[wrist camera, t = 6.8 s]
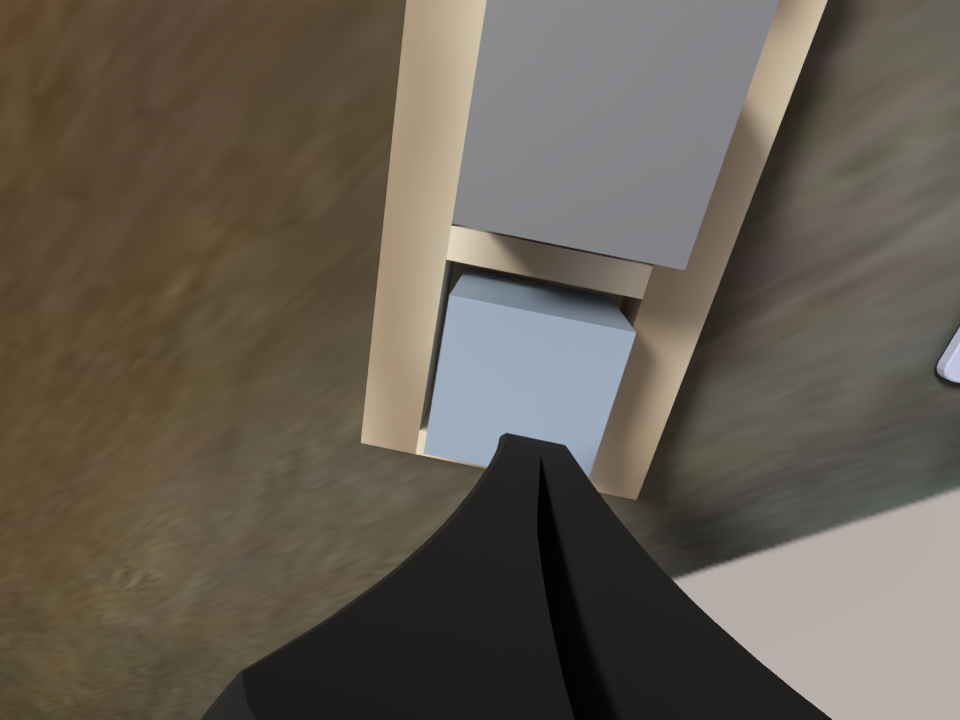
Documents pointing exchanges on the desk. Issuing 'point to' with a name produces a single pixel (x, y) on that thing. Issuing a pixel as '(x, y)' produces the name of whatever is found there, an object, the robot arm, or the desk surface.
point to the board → (452, 248)
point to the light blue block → (525, 367)
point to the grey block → (606, 120)
